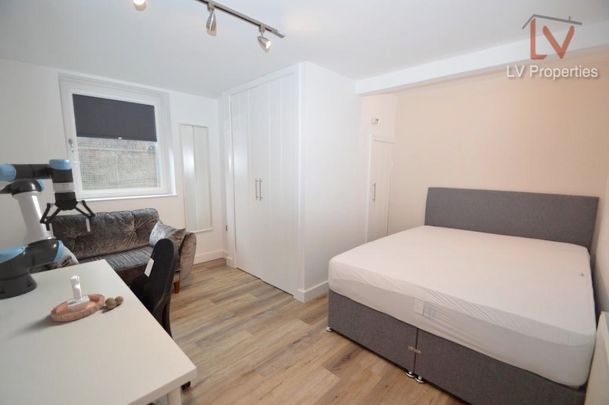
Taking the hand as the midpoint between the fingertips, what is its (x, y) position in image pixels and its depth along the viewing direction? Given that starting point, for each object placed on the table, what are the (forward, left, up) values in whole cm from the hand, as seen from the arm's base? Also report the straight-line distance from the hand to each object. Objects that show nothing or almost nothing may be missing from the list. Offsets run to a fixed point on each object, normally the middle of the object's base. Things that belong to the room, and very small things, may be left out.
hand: (71, 234), depth 127 cm
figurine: (+20, -3, -31) cm, 37 cm away
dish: (+20, -3, -32) cm, 37 cm away
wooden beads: (+28, +8, -32) cm, 43 cm away
